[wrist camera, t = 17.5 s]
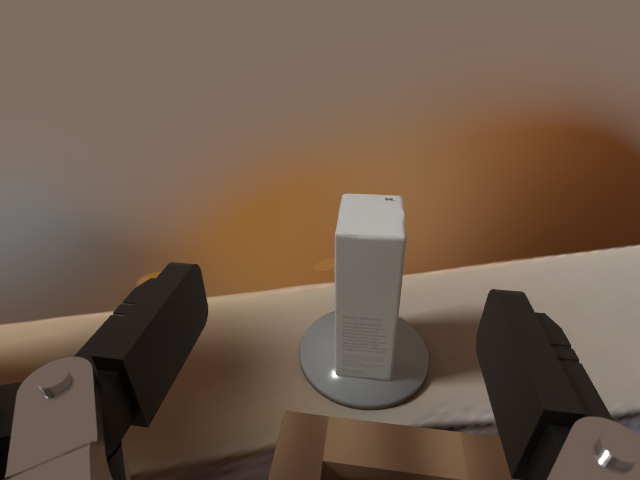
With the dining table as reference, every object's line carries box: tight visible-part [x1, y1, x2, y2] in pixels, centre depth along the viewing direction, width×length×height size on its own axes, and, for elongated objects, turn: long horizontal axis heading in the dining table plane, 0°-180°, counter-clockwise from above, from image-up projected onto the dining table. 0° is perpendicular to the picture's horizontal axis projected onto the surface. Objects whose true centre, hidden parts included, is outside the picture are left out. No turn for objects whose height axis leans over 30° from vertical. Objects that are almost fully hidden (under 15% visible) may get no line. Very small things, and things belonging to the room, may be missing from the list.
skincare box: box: [335, 194, 406, 381], centre depth 27 cm, size 6×4×12 cm
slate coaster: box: [300, 311, 429, 410], centre depth 30 cm, size 10×10×1 cm
